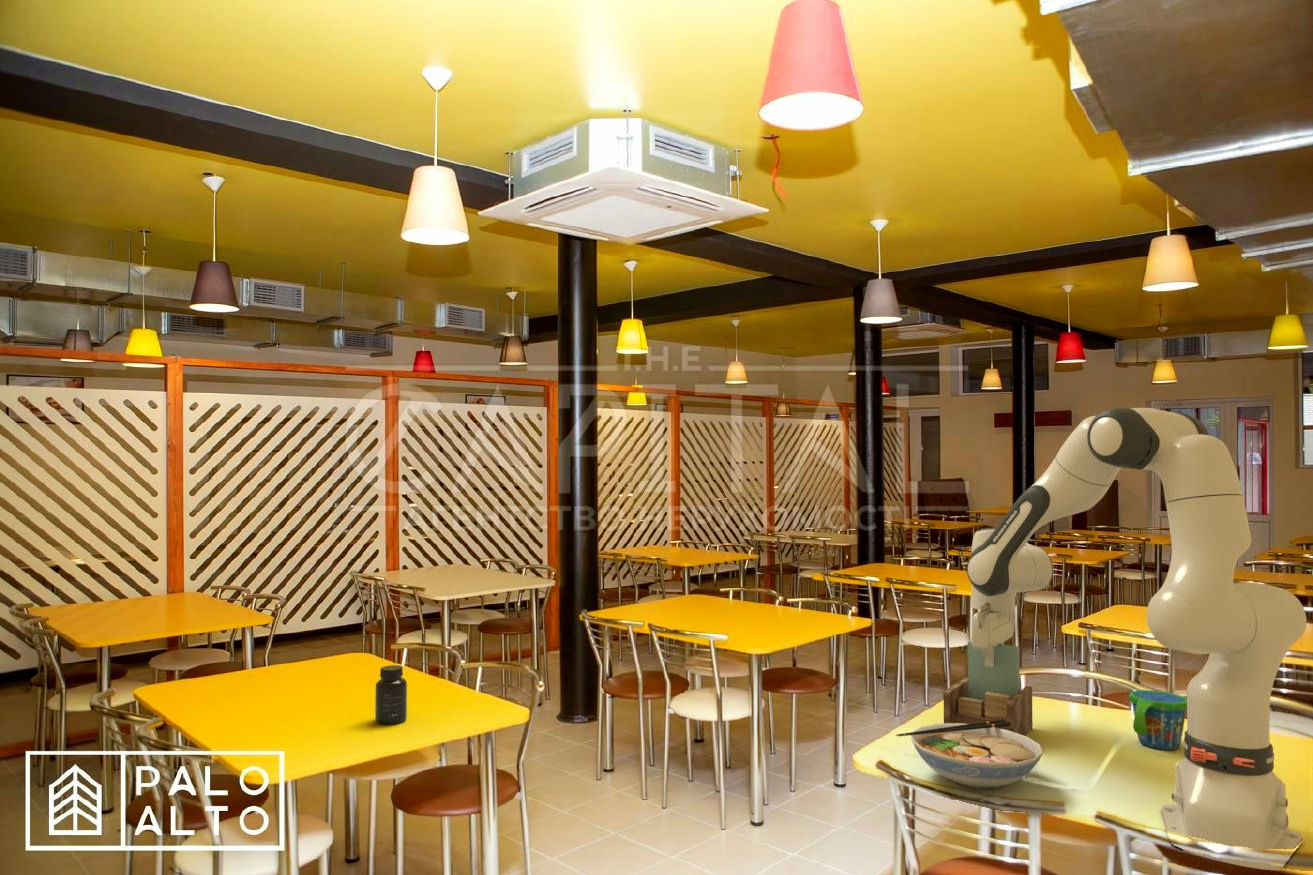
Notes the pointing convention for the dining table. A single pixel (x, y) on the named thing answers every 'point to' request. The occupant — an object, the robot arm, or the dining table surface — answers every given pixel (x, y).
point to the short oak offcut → (971, 706)
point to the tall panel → (993, 672)
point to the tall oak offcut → (996, 705)
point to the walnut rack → (1016, 709)
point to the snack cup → (1158, 718)
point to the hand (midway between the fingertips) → (993, 664)
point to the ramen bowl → (976, 752)
